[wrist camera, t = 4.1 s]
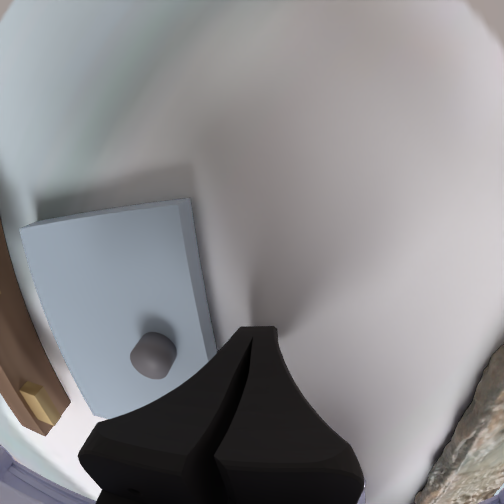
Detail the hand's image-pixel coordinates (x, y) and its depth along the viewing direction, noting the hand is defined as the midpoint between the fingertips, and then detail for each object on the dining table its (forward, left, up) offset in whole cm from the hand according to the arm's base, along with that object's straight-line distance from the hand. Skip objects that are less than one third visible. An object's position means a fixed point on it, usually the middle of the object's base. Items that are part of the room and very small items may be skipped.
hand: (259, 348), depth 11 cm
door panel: (+6, 0, -2) cm, 6 cm away
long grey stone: (-16, +18, -2) cm, 24 cm away
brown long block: (+14, 0, -1) cm, 15 cm away
